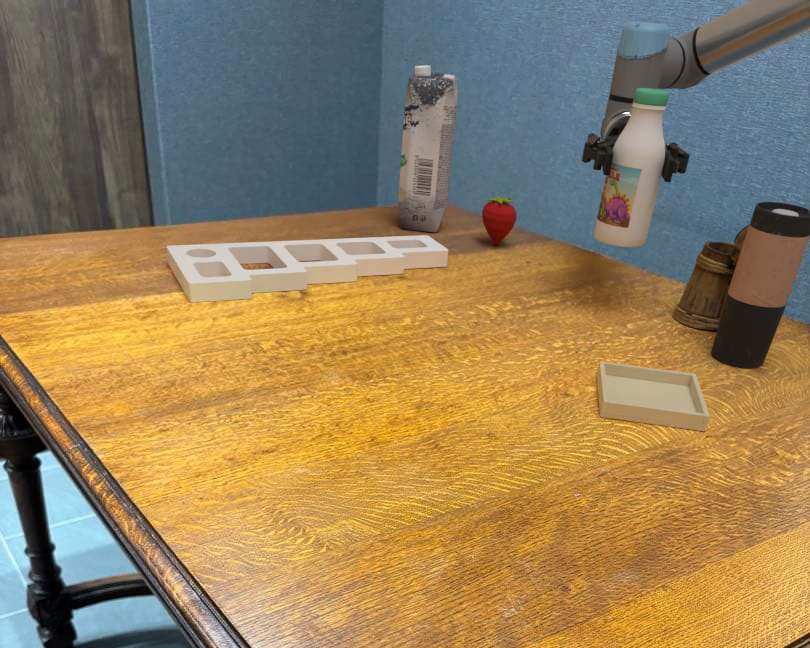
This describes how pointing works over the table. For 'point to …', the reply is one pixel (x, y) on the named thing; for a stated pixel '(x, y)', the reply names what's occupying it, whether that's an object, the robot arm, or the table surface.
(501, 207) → the strawberry
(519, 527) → the table surface
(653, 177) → the milk bottle
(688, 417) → the cream tray
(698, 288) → the wooden mug
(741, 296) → the travel mug
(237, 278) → the holder
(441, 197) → the juice carton
